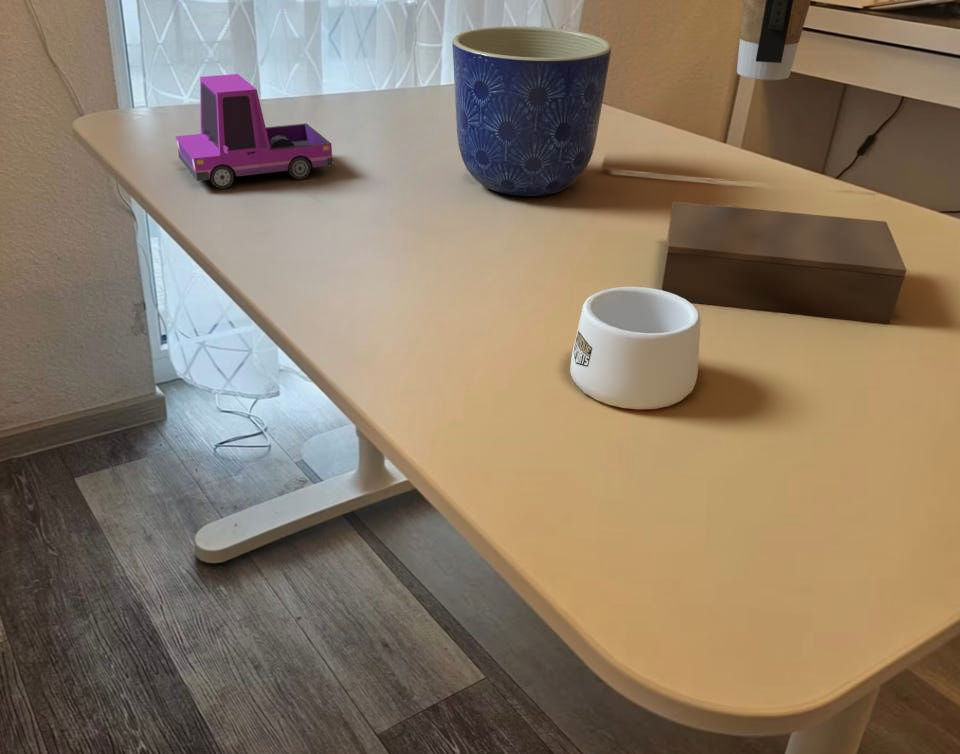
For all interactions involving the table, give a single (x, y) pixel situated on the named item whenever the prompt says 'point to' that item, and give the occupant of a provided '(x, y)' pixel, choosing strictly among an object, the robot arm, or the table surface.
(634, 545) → the table surface
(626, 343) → the mug
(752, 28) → the coffee cup
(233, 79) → the toy truck
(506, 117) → the planter
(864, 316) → the dark wooden box
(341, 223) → the table surface
